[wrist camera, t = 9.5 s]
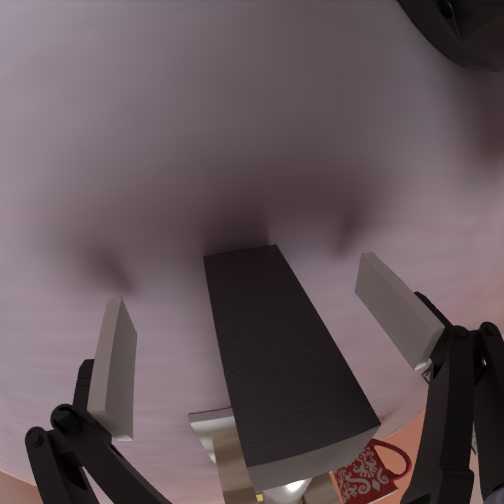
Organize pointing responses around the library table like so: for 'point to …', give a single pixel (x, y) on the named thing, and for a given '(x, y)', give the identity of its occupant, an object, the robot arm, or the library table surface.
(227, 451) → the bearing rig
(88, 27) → the library table surface
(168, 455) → the library table surface
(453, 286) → the library table surface
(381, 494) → the mug
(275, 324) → the shaft
